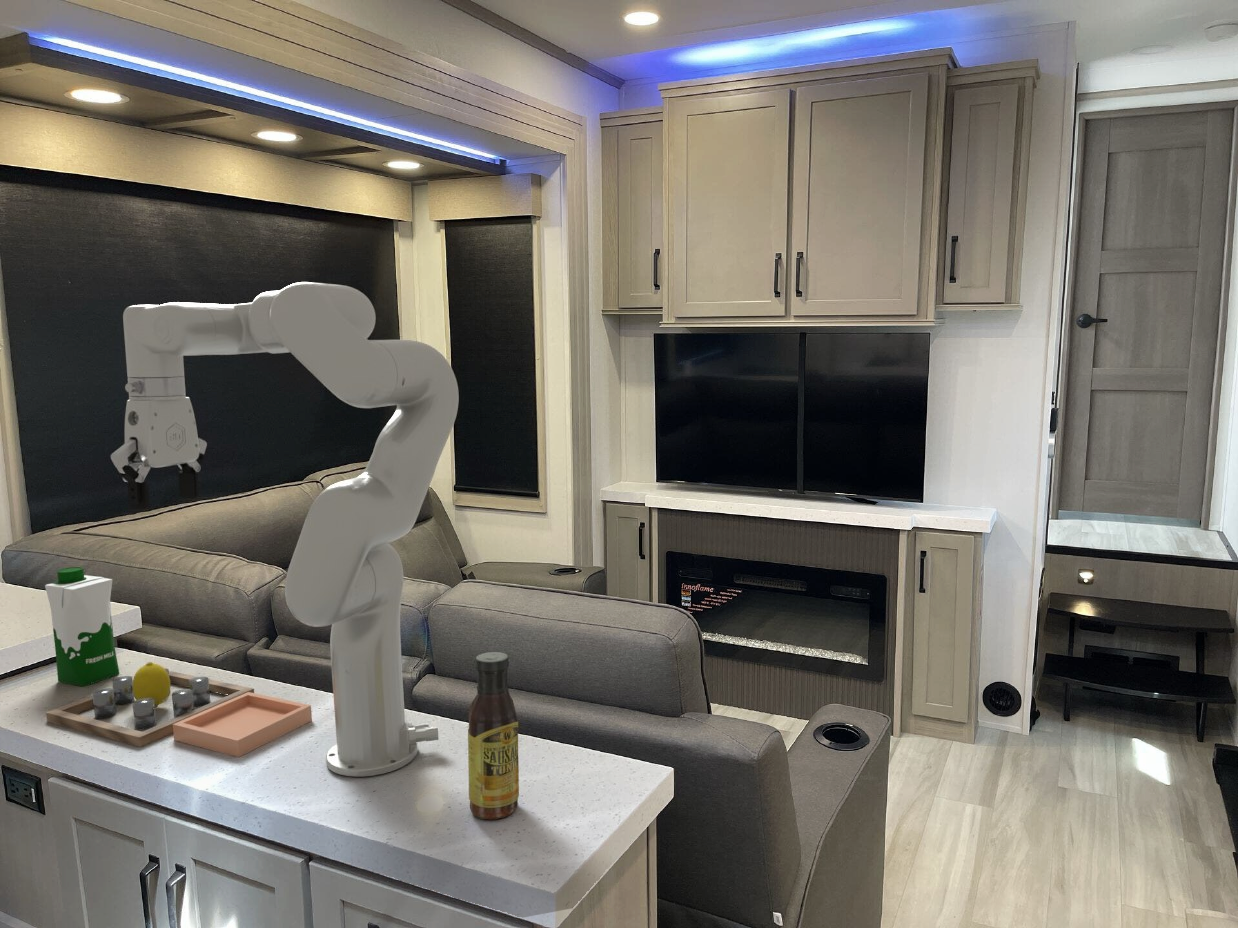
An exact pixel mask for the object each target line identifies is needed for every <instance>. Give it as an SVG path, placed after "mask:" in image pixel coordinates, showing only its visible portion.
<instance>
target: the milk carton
mask: <svg viewBox="0 0 1238 928" xmlns="http://www.w3.org/2000/svg"><path fill="white" fill-rule="evenodd" d="M112 586H113V578H106V577H103V576H94V575H87V574H86V575H85V572H84V567H81V566H76V567H75V566H73V567H72V566H71V567H66V568H62V569H59V570H57V581H55V582H51V583H47V584H45V585H44V587H45V591H46V595H47V598H48V603H49V607H50V611H51V612H50V613H51V622H52V631H53V642H54V648H55V649H54V650H55V658H56V659H55V660H56V670H57V671H56V672H57V681H58V682H59V681H60V682H61V683H64V684H69V685H73V686H77V687H87V686H89V685H92V684H96V683H98V682H101V681H103V680H106V679H109V678H111V677H114V676H117V675H120V668H119V663H118V658H117V651H116V648H115V638H114V630H113V627H114V626H113V617H112V609H111V593H112ZM60 682H59V683H60Z"/></svg>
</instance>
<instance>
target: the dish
mask: <svg viewBox="0 0 1238 928" xmlns="http://www.w3.org/2000/svg"><path fill="white" fill-rule="evenodd" d="M312 713H313V712H312V705H310V704H306V703H303V702H297V701H292V700H288V699H283V698H279V697H274V696H269V695H265V694H264V695H263V694H259V693H255V692H254V693H251V692H247V693H245V694H242V695H240V696H238V697H235V698H233V699H231V700H228V701H226V702H224V703H221V704H219V705H217V706H214V707H212V708H210V709H207V710H205V711H203V712H200V713H198V714H196V715H193V716H191V717H189V718H186V719H184V720H182V721H179V722H177V723H175V724H173V733H172V734H173V741H176V742H179V741H180V743H184V744H186V745H187V744H188V745H192V746H196V747H198V748H203V749H206V750H210V751H214V752H217V753H221V754H226V755H229V756H233V757H237V758H239V757H242V756H244V755H246V754H248V753H250V752H252V751H253V750H256V749H258V748H260V747H262V746H264V745H266V744H268V743H270V742H272V741H274V740H276V739H277V738H280V737H282V736H284V735H286V734H288V733H289V732H291V731H294V730H295V729H298V728H301V727H302V726H305V725H306V724H308V723H310V722H312V721H313V717H312V716H313V715H312Z"/></svg>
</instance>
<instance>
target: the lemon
mask: <svg viewBox="0 0 1238 928" xmlns="http://www.w3.org/2000/svg"><path fill="white" fill-rule="evenodd" d="M165 668H166V667H164V666H162V665H160V664H157V663H153V662H151V661H149V662H147V663H146V664H145V665H143V666H141V667H139V668H138V670H137V671H136V672H135V674H134V676H133V678H132V679H133V686H132V687H133V694H134V699H135V701H136V700H138V699H142V698H153V699H154V704H155V710H156V709H157V707H159V705H161V704H163V703H164V702H165V701H166V700H167V698H168V697H169V695H170V694H169V692H170V690H171V683H170V678H169V675H168V673H167V671H166V670H165Z"/></svg>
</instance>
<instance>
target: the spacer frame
mask: <svg viewBox="0 0 1238 928" xmlns="http://www.w3.org/2000/svg"><path fill="white" fill-rule="evenodd" d="M196 677H197V676H196V675H190V674H187V673H186V674H185V673H182V672H176V671H173V670H169V678H170V685H177V686H180V685H181V687H185V688H189V680H190V679H193V678H196ZM208 680H209V691H212V692H218V693H221V694H228V696H226V695H225V696H224V697H221V698H220V699H216V700H214V701H212V702H210V703H208V704H206V705H203V706H199V707H197V708H194V710H193V711H190V712H188V713H186V714H183V715H181V716H179V717H176V718H174V717H173V718H172V719H169V720H167V721H164V722H162V723H160V724H158V725H157V724H156V725H155V726H154V727H151V728H148V729H144V730H143V731H140V730H138V729H133V728H129V727H124V726H120V725H118V724H114V723H110V722H107V721H106V722H105V721H102V720H100V719H96V718H90V717H88V716H87V717H86V716H83V715H79V714H80V713H83V712H85V711H88V710H91V709H94V704H93V695H91V696H87V697H85V698H82V699H80V700H77V701H74V702H71V703H68V704H66V705H64V706H63V705H62V706H60V707H57V708H55V709H52V710H49V711H46V712H45V714H46V722H47V723H52V724H55V725H59V726H63V727H65V728H69V729H74V730H76V731H80V732H85V733H88V734H92V735H95V736H99V737H102V738H105V739H110V740H114V741H117V742H120V743H121V742H122V743H124V744H128V745H132V746H136V747H139V748H142V747H144V746H146V745H148V743H149V744H151V743H153V742H155V741H158V740H160V739H162V738H164V737H166V736H169V735H171V734H173V724H175V723H177V722H179V721H182V720H184V719H186V718H189V717H191V716H193V715H196V714H198V713H200V712H203V711H205V710H207V709H210V708H212V707H214V706H217V705H219V704H221V703H224V702H226V701H228V700H231V699H233V698H235V697H238V696H240V695H242V694H245V693H247V692H251V693H255V688H253V687H248V686H243V685H238V684H233V683H229V682H224V681H221V680H215V679H210V678H208ZM112 689H113V687H112ZM212 692H211V693H212ZM221 694H220V695H221ZM143 745H144V746H143Z"/></svg>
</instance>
